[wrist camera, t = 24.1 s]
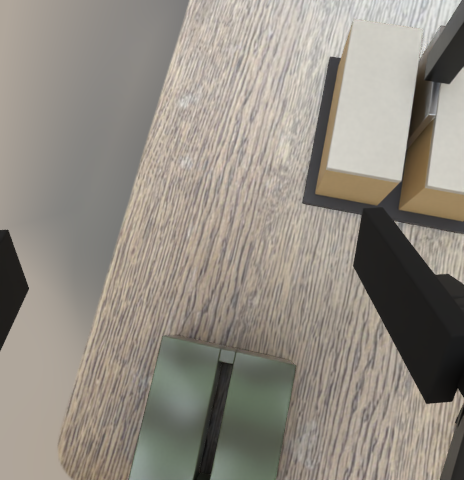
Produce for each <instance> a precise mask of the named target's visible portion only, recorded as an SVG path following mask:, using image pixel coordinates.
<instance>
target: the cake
mask: <svg viewBox="0 0 464 480" xmlns="http://www.w3.org/2000/svg"><path fill="white" fill-rule="evenodd" d="M422 36H423V29H420V28H413V27H406V26H400V25H393V24H386V23H380V22H373V21H366V20H360V19H354V20H353V23H352V26H351V29H350V32H349V35H348V38H347V41H346V44H345V47H344V51H343V54H342V57H341V58H336V57H330V59H329V64H328V70H327V75H326V80H325V86H324V91H323V96H322V101H321V107H320V112H319V117H318V123H317V128H316V133H315V139H314V144H313V149H312V155H311V160H310V165H309V170H308V176H307V181H306V186H305V192H304V197H303V202H302V203H303V204H308V205H314V206H319V207H324V208H330V209H335V210H340V211H345V212H351V213H356V214H361V215H362V211H363V208H374V207H383V208H384V209H385V211H386V212H387V213H388V215H389V216H390V217H391V218H392V220H393V221H398V222H404V223H409V224H414V225H420V226H425V227H430V228H436V229H441V230H446V231H451V232H457V233H462V234H464V67H463V68H462V69H461V71H460V72H459V73H458V74H457V76H456V77H455V78H454V79H453V81H452V82H451V83H450V84H444V83H440V89H439V97H438V105H437V112H436V116H435V117H434V118H433V120H432V121H431V122H430V123H429V124H428V126H427V127H426V128H425V129H424V130H423V131H422V133H421V134H420V135H419V136H418V137H417V138H416V140H415V141H414V142H413V143H412V144H411V146H410V147H409V148H408V149H407V150H406V147H407V140H408V133H409V126H410V119H411V112H412V105H413V98H414V91H415V84H416V77H417V70H418V64H419V57H420V50H421V43H422Z"/></svg>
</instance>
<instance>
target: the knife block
mask: <svg viewBox="0 0 464 480" xmlns="http://www.w3.org/2000/svg"><path fill="white" fill-rule="evenodd" d="M222 362H224V363H229V364H233V369H232V373H231V378H230V383H229V388H228V393H227V398H226V403H225V408H224V412H223V417H222V422H221V427H220V432H219V437H218V442H217V447H216V452H215V456H214V461H213V466H212V471H211V475H208V474H204V473H199V471H200V466H201V461H202V457H203V452H204V447H205V442H206V438H207V433H208V428H209V423H210V418H211V414H212V409H213V404H214V399H215V395H216V390H217V385H218V380H219V376H220V371H221V366H222ZM295 369H296V365H295V364H294V363H293V362H291V361H290V360H288V359H283V358H279V357H274V356H270V355H265V354H261V353H256V352H252V351H247V350H243V349H238V348H234V347H229V346H225V345H220V344H216V343H211V342H206V341H202V340H197V339H193V338H188V337H184V336H179V335H165V336H162V341H161V345H160V349H159V353H158V357H157V362H156V366H155V370H154V374H153V378H152V383H151V387H150V391H149V395H148V399H147V404H146V408H145V412H144V416H143V420H142V425H141V429H140V433H139V437H138V441H137V446H136V450H135V454H134V458H133V463H132V467H131V471H130V475H129V479H128V480H276V476H277V470H278V465H279V459H280V453H281V448H282V442H283V437H284V431H285V425H286V420H287V414H288V409H289V403H290V397H291V392H292V386H293V380H294V375H295Z"/></svg>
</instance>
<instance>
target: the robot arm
mask: <svg viewBox="0 0 464 480" xmlns="http://www.w3.org/2000/svg"><path fill="white" fill-rule="evenodd" d="M353 267H354V269H355V270H356V272H357V274H358V276H359V278H360V280H361V282H362V284H363V285H364V287H365V289H366V291H367V293H368V295H369V297H370V299H371V300H372V302H373V304H374V306H375V308H376V310H377V312H378V314H379V316H380V317H381V319H382V321H383V323H384V325H385V327H386V329H387V331H388V332H389V334H390V336H391V338H392V340H393V342H394V344H395V346H396V347H397V349H398V351H399V353H400V355H401V357H402V359H403V361H404V362H405V364H406V366H407V368H408V370H409V372H410V374H411V376H412V378H413V379H414V381H415V383H416V385H417V387H418V389H419V391H420V393H421V394H422V396H423V398H424V400H425V402H426V404H430V403H441V402H452V400H453V398H454V396H455V393H456V391H457V388H458V389H459V391H460V392H461V394H462V395H463V397H464V285H463V284H462V283H461V282H459V281H458V280H456V279H455V278H453V277H452V276H450V275H449V274H442V275H435V274H434V273H433V272H432V270H431V269H430V268H429V267H428V265H427V264H426V263H425V261H424V260H423V259H422V257H421V256H420V255H419V254H418V252H417V251H416V250H415V248H414V247H413V246H412V244H411V243H410V242H409V241H408V239H407V238H406V237H405V235H404V234H403V233H402V231H401V230H400V229H399V228H398V226H397V225H396V224H395V222H394V221H393V220H392V218H391V217H390V216H389V215H388V213H387V212H386V211H385V209H384V208H383V207H374V208H363V211H362V217H361V223H360V229H359V235H358V241H357V247H356V253H355V258H354V264H353ZM28 290H29V287H28V284H27V282H26V278H25V276H24V273H23V270H22V267H21V264H20V262H19V259H18V256H17V253H16V251H15V248H14V245H13V242H12V239H11V237H10V234H9V231H8V230H0V350H1V348H2V346H3V344H4V342H5V340H6V337H7V335H8V333H9V331H10V329H11V327H12V324H13V322H14V320H15V318H16V316H17V314H18V311H19V309H20V307H21V305H22V303H23V301H24V298H25V296H26V294H27V292H28ZM455 423H456V424H457V425H456V428H455V432H454V435H453V438H452V441H451V445H450V448H449V451H448V455H447V458H446V461H445V464H444V468H443V471H442V474H441V477H440V480H464V404H463V406H462V408H461V410H460V413H459V415H458V417H457V419H456V422H455Z"/></svg>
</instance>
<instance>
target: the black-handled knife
mask: <svg viewBox="0 0 464 480" xmlns="http://www.w3.org/2000/svg"><path fill="white" fill-rule="evenodd" d="M463 67H464V0H462V1H461V3H460V4H459V6H458V7H457V9H456V11H455V12H454V14H453V15H452V17H451V18H450V20H449V22H448V23H447V25H446V26H440V27H439V29H438V31H437V32H436V34H435V36H434V37H433V39H432V41H431V42H430V44H429V45H428V47H427V49H426V50H425V52H424V54H423V55H422V57H421V58H420V60H419V64H418V70H417V77H416V84H415V91H414V98H413V105H412V112H411V119H410V126H409V133H408V140H407V147H406V150H407V149H408V148H409V147H410V146H411V144H412V143H413V142H414V141H415V140H416V138H417V137H418V136H419V135H420V134H421V133H422V131H423V130H424V129H425V128H426V127H427V126H428V124H429V123H430V122H431V121H432V120H433V118H434V117H435V116H436V112H437V105H438V97H439V89H440V83H444V84H450V83H451V82H452V81H453V79H454V78H455V77H456V76H457V74H458V73H459V72H460V71H461V69H462V68H463Z"/></svg>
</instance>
